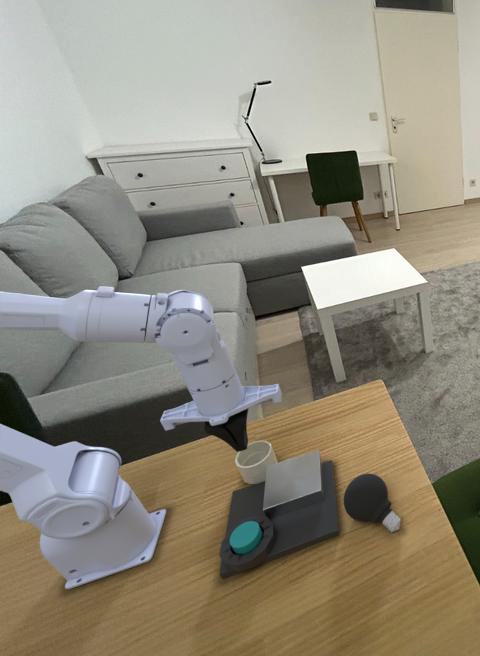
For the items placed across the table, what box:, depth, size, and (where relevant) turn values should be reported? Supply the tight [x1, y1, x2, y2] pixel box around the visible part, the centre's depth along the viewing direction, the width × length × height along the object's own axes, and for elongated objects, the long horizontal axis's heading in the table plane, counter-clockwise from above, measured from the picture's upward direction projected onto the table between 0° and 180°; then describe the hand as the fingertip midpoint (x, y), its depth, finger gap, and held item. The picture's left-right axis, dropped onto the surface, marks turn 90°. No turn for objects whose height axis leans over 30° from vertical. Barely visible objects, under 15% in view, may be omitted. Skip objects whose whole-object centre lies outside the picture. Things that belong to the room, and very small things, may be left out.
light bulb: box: [343, 473, 402, 534], centre depth 58 cm, size 6×6×10 cm
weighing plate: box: [263, 449, 325, 520], centre depth 62 cm, size 8×8×4 cm
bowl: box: [234, 440, 279, 485], centre depth 65 cm, size 5×5×4 cm
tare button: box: [230, 521, 262, 554], centre depth 53 cm, size 4×4×2 cm
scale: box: [219, 459, 340, 580], centre depth 59 cm, size 15×14×3 cm
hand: (242, 445), depth 60 cm, fingers closed
